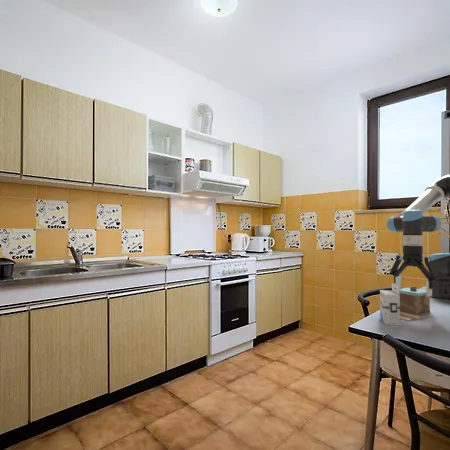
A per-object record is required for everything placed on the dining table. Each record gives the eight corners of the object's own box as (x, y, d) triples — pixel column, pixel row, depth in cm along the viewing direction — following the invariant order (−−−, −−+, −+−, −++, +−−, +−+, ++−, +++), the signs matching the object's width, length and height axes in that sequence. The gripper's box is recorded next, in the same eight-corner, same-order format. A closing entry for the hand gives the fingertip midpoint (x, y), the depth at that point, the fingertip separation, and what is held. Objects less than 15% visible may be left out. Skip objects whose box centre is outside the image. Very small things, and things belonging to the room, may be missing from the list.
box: (411, 307, 142) (411, 290, 142) (429, 311, 135) (429, 293, 135) (398, 310, 137) (397, 292, 138) (416, 315, 130) (415, 296, 130)
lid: (409, 292, 143) (409, 284, 143) (432, 296, 134) (431, 287, 134) (395, 294, 138) (395, 286, 139) (418, 299, 130) (418, 289, 130)
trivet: (400, 312, 134) (400, 311, 134) (421, 317, 126) (421, 316, 126) (387, 315, 130) (387, 314, 130) (408, 320, 122) (408, 319, 122)
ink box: (379, 318, 125) (379, 282, 126) (392, 319, 124) (392, 282, 125) (386, 325, 117) (385, 286, 117) (400, 326, 116) (399, 286, 116)
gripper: (381, 244, 146) (381, 289, 146) (438, 246, 124) (438, 299, 123) (391, 243, 149) (391, 288, 149) (448, 246, 127) (449, 297, 127)
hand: (413, 293), depth 136 cm, fingers open, 13 cm apart
